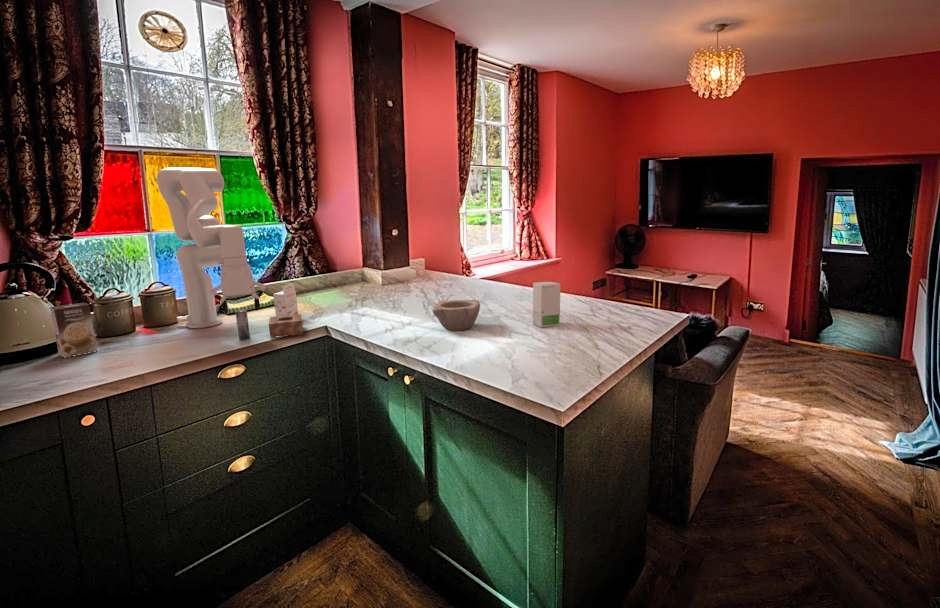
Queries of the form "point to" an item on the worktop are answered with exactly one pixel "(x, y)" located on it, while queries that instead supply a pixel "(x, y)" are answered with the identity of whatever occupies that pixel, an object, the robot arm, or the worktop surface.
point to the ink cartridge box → (286, 301)
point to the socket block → (285, 325)
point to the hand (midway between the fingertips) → (242, 311)
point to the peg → (242, 324)
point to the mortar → (457, 313)
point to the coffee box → (73, 329)
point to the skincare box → (546, 304)
